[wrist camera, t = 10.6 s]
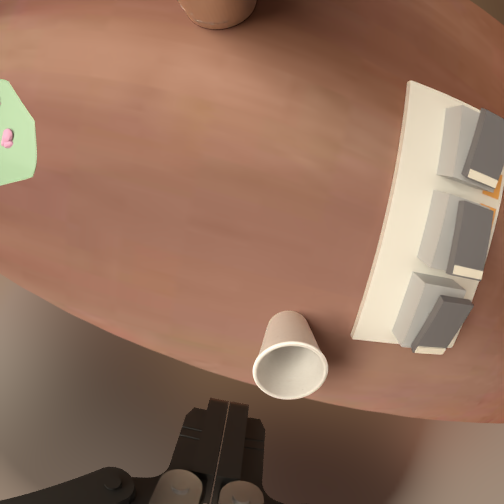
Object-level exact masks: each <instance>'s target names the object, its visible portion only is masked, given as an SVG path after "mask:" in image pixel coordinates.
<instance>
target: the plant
mask: <svg viewBox="0 0 504 504" xmlns="http://www.w3.org/2000/svg"><path fill="white" fill-rule="evenodd" d="M36 163H37V147H36V130H35V121H34V119H33V118H32V117H31V115H30V114H29V112H28V111H27V109H26V108H25V106H24V105H23V103H22V102H21V100H20V99H19V97H18V96H17V94H16V93H15V91H14V89H13V88H12V86H11V85H10V83H9V82H8V81H6V80H4V79H0V185H4V184H8V183H12V182H16V181H20V180H24V179H28V178H31V177H33V175H34V172H35V169H36Z"/></svg>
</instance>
